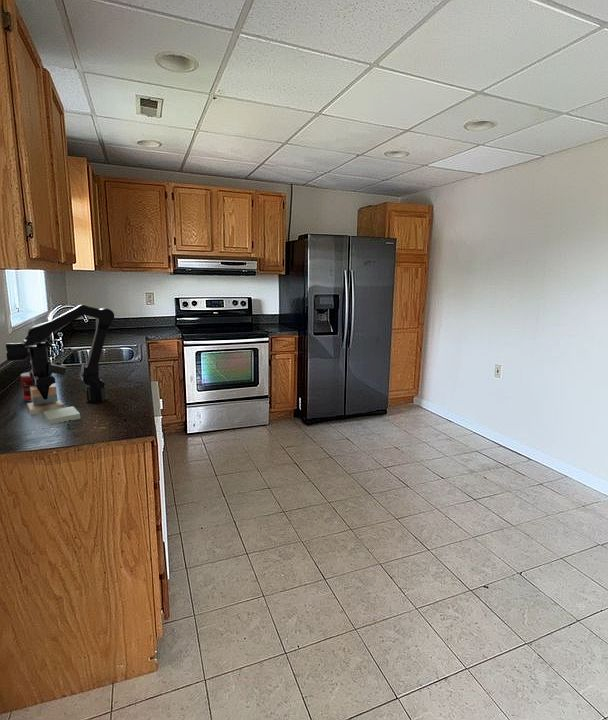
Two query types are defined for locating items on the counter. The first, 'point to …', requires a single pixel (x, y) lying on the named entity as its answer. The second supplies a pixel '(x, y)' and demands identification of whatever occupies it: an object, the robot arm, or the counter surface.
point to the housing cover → (36, 392)
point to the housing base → (41, 401)
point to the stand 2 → (61, 415)
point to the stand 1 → (44, 406)
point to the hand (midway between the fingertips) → (44, 397)
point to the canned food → (26, 385)
